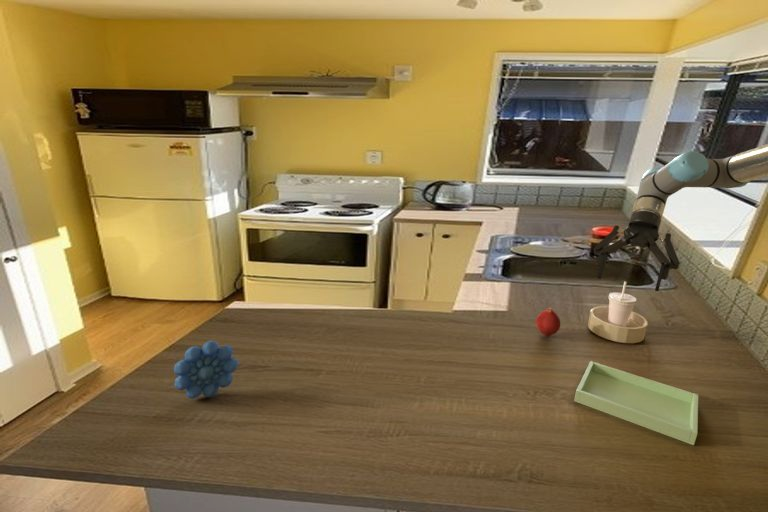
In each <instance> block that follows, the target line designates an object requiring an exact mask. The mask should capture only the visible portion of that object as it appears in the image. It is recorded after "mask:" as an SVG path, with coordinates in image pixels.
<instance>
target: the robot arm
mask: <svg viewBox="0 0 768 512" xmlns="http://www.w3.org/2000/svg"><path fill="white" fill-rule="evenodd" d="M767 177H768V143H767V144H766V143H765V144H764V145H761V146H757V147H755V148H752V149H749V150H746V151H743V152H739V153H737V154H735V155H731V156H727V157H725V158H724V157H723V158H707V157H706V156H705V155H704V154H702V153H699V152H698V151H695V150H688V151H685V152H683V153H681V154H679V155H678V156H676V157H674V158H673V159H672V160H670V161H669V162H668V163H666V164H665V165H664V166H663V167H654V168H649V169H648V170H646V171H645V172H644V173H643V175H642V178H641V179H640V182H639V186H638V190H637V193H636V197H635V202H633V203H634V204H633V207H632V211H631V213H630V214H631V215H630V216H629V220H628V224H627V227H626V228H622V227H620V226H619V225H614V226H613V228H612V231H610V232H609V233H608V234H607V235H606V236H605V237H604V238H603V239H602V240H601V241H600V242H598V243H597V244H596V245H595V246H594V247H593V255H597V256H598V258H597V261H596V267H599V268H598V271H597V279H598V280H601V279H602V277H603V273H604V270H605V267H606V264H607V260H608V256H610V255H611V254H614V253H615V252H616V251H618V250H620V249H622V248H623V247H628V246H629V245H631V247H638V248H641V249H644V248H647V249H648V250H649V251H650V252H651V253H652V254H653V255H654V257H655V258H656V260H657V261H658V262H659V264H660V269H659V273H658V276H657V280H656V285H655V289H654V291H655V292H659V291H660V287H661V283H662V280H664V281H666V280H667V279H668V278H669V272H670V271H671V270H678V269H679V267H680V260H679V258H678V255H677V253H676V250H675V248H674V245H673V243H672V234H671V233H670V232H667V233H665V234H659V230H660V227H661V223H662V219H663V215H664V212H665V209H666V205H667V201H668V198H669V197H671V196H672V195H674V194H676V193H677V192H679V191H681V190H682V189H684V188H716V189H717V188H720V189H734V188H742V187H745V186H747V184H748V183H750V182H751V181H755V180H759V179H763V178H767ZM620 235H623V236H622V237H621V238H620V239H618V240H616V241H614V240H615V239H616V238H617V237H619V236H620ZM658 240H659V241H660V242H661V243H662V244H663V245H664V246H663V247H664V249H665V252H666V254H667V256H666V255H665V253H664V252H663V251H662V250H661V249H660V247H659V246H658V244H657V241H658ZM613 241H614V242H613ZM612 242H613V243H612Z"/></svg>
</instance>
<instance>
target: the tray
mask: <svg viewBox="0 0 768 512" xmlns="http://www.w3.org/2000/svg"><path fill="white" fill-rule="evenodd" d="M574 394H575V395H574V399H573V402H575V403H578V404H581V405H583V406H586V407H588V408H591V409H593V410H597V411H600V412H601V413H605V414H608V415H610V416H613V417H616V418H618V419H622V420H623V421H627V422H630V423H632V424H635V425H637V426H640V427H643V428H646V429H648V430H651V431H654V432H656V433H658V434H662V435H664V436H667V437H669V438H673V439H676V440H678V441H681V442H683V443H686V444H689V445H691V446H695V444H696V440H697V437H698V430H699V429H698V428H699V427H698V426H699V394H698V393H693V392H691V391H688V390H685V389H681V388H678V387H675V386H672V385H669V384H665V383H662V382H660V381H656V380H654V379H649V378H646V377H644V376H640V375H636V374H633V373H631V372H627V371H624V370H621V369H618V368H615V367H611V366H609V365H604V364H602V363H599V362H595V361H592V360H590V361H589V362H588V365H587V367H586V370H585V371H584V374H583V376H582V378H581V380H580V382H579V384H578V385H577V387H576V390H575V393H574Z"/></svg>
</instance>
